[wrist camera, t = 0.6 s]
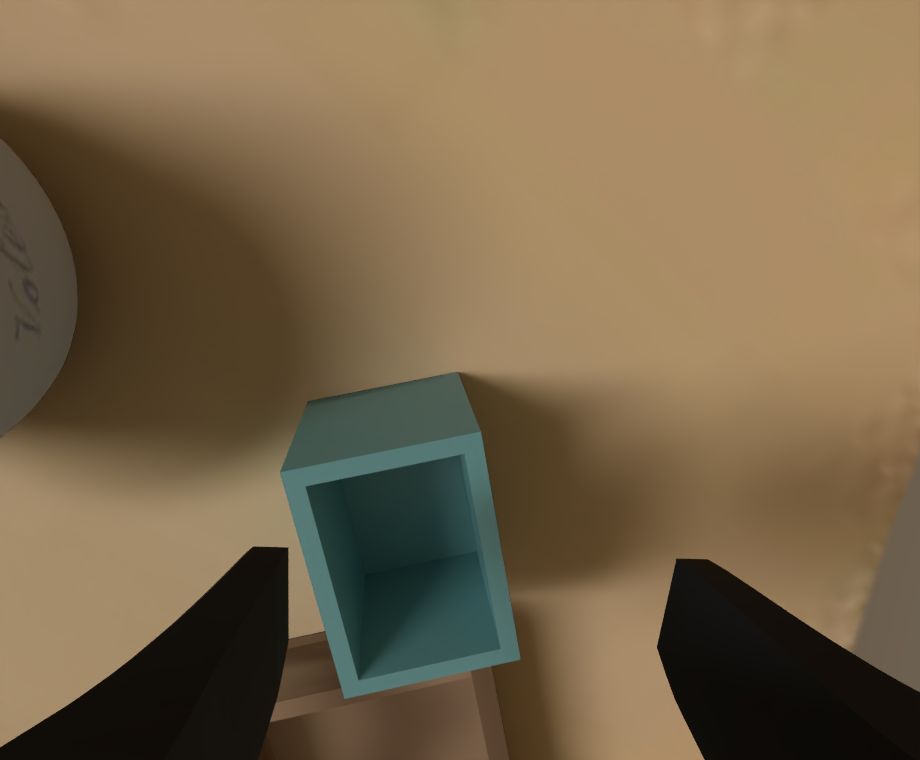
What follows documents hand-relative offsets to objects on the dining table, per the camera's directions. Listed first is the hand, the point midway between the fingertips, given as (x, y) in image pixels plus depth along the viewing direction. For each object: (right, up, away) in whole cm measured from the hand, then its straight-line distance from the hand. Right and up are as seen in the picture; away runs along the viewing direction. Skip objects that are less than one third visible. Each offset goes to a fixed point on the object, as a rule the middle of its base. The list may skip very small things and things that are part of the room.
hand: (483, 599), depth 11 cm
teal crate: (-2, 0, +10) cm, 10 cm away
